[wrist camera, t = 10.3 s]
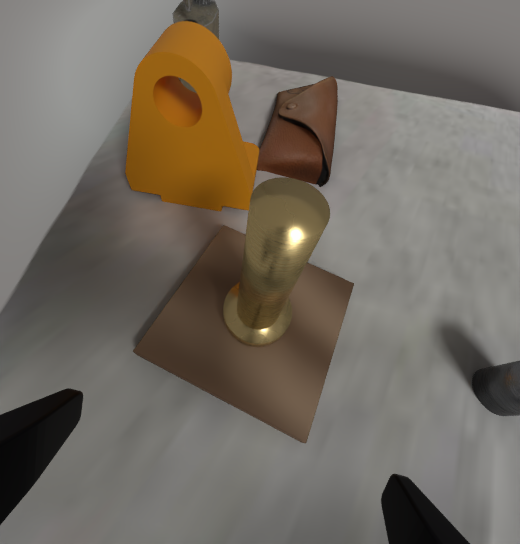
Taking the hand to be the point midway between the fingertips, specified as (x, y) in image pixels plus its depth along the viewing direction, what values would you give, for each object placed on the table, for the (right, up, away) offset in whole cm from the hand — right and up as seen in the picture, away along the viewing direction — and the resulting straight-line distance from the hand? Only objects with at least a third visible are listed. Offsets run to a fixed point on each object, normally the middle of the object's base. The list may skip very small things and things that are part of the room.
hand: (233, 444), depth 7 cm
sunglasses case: (+5, +22, +26) cm, 35 cm away
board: (0, +1, +13) cm, 13 cm away
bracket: (-5, +14, +19) cm, 25 cm away
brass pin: (0, +2, +12) cm, 12 cm away
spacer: (+18, -4, +12) cm, 22 cm away
